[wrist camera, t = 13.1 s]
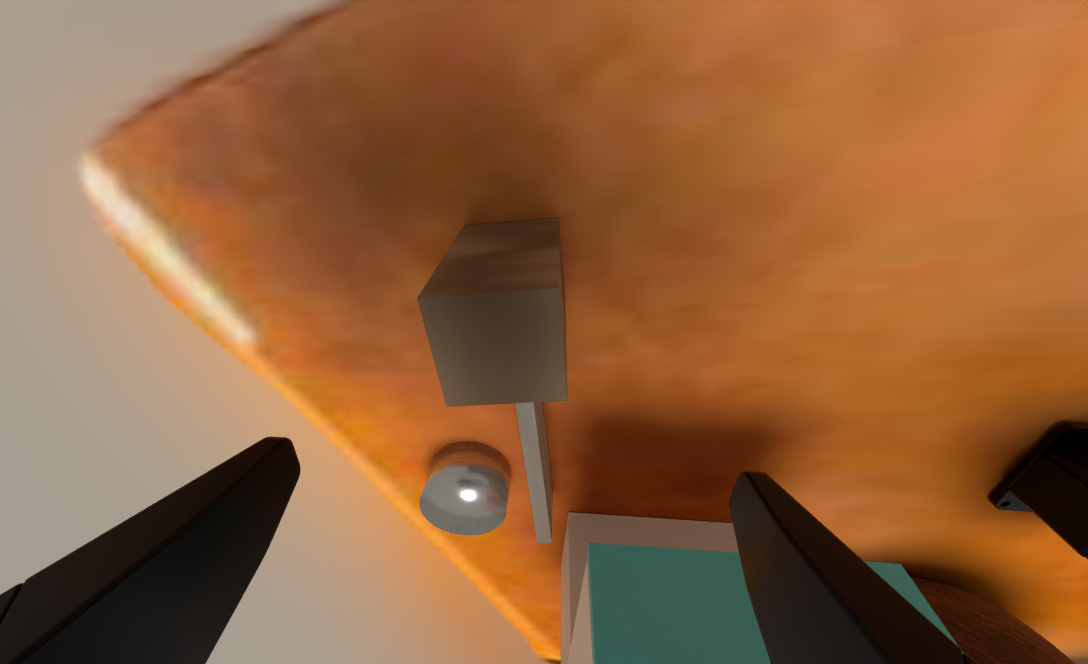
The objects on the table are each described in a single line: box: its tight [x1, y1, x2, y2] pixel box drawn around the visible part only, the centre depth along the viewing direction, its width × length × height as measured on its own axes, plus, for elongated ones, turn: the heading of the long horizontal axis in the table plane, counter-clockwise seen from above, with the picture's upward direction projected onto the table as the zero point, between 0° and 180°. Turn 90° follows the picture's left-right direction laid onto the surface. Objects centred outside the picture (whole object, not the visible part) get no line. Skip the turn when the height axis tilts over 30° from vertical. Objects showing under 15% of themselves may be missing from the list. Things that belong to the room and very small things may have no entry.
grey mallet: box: [418, 218, 568, 543], centre depth 19 cm, size 4×17×7 cm, turn 5°
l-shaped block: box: [561, 512, 964, 664], centre depth 21 cm, size 12×15×12 cm
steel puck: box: [420, 442, 511, 535], centre depth 25 cm, size 5×5×3 cm
